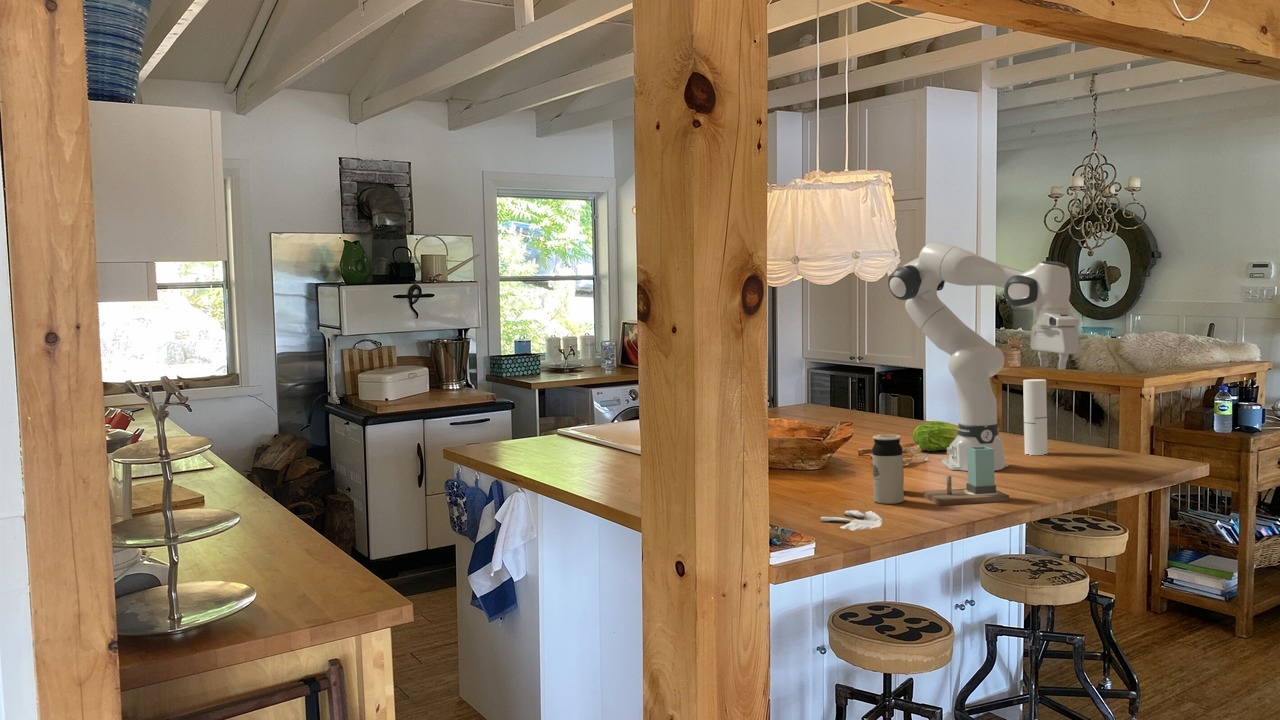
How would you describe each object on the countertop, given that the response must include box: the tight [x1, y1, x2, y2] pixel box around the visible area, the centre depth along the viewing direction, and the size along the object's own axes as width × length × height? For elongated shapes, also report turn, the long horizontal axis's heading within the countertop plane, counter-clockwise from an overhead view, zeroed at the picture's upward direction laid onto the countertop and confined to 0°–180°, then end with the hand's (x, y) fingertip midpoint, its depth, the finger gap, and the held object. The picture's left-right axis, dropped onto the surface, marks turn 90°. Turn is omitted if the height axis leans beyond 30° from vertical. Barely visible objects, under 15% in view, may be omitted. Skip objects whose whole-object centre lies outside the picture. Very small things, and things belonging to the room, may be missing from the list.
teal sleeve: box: [965, 446, 997, 494], centre depth 269 cm, size 6×6×12 cm
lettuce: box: [912, 420, 959, 452], centre depth 349 cm, size 12×24×13 cm
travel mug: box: [871, 434, 905, 505], centre depth 270 cm, size 8×8×18 cm
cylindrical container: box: [1022, 378, 1049, 456], centre depth 332 cm, size 7×7×25 cm
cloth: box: [819, 509, 884, 531], centre depth 252 cm, size 20×22×2 cm
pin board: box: [923, 475, 1010, 506], centre depth 269 cm, size 12×19×6 cm, turn 95°
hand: (1052, 368), depth 279 cm, fingers open, 8 cm apart
